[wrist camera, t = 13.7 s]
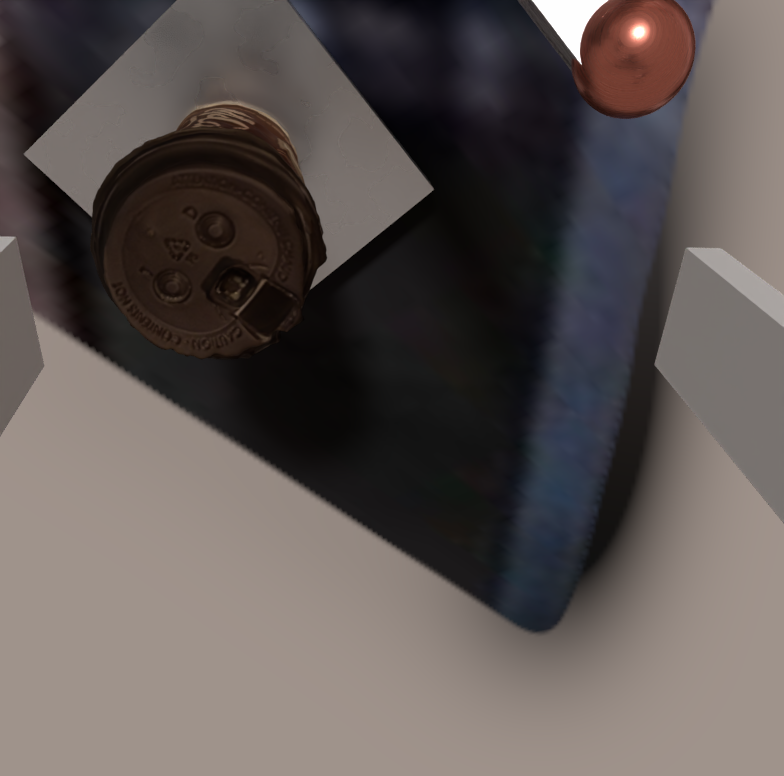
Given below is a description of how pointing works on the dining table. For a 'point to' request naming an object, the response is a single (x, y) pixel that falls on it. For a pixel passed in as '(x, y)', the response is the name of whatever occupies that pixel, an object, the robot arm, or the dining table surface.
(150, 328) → the coffee cup
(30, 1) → the dining table surface
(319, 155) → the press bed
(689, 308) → the robot arm
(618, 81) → the lever
